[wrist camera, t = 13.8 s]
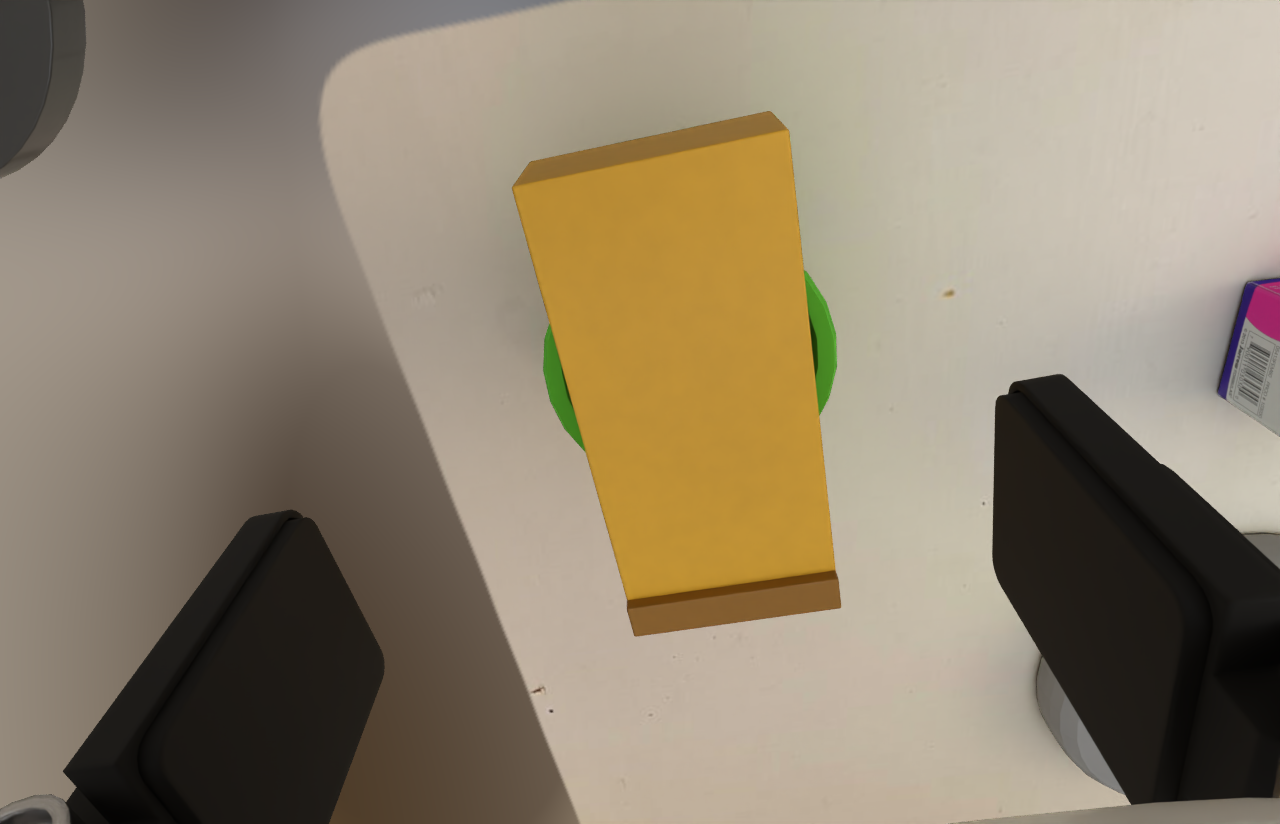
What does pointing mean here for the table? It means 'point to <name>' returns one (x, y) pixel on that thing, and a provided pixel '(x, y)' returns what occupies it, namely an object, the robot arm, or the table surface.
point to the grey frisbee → (1068, 722)
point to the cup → (821, 348)
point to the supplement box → (1256, 356)
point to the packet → (690, 366)
